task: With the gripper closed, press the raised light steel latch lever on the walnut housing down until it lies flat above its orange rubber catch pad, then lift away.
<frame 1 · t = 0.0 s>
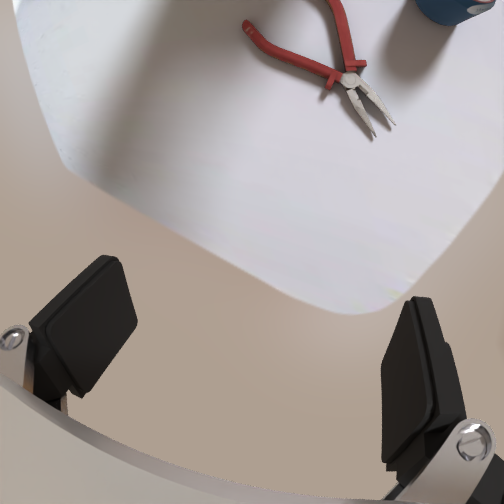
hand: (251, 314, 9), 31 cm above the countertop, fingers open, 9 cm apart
pliers: (317, 59, 31), on the countertop
soda can: (436, 3, 22), on the countertop
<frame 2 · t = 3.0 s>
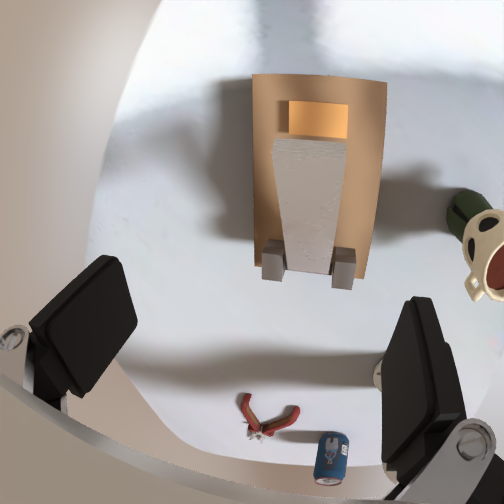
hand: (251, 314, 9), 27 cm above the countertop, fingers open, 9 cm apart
pliers: (259, 415, 61), on the countertop
character mug: (466, 212, 30), on the countertop
latch lever: (309, 226, 23), point 12 cm above the countertop, hinge at 35.0°
soda can: (334, 436, 59), on the countertop
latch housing: (319, 167, 33), on the countertop
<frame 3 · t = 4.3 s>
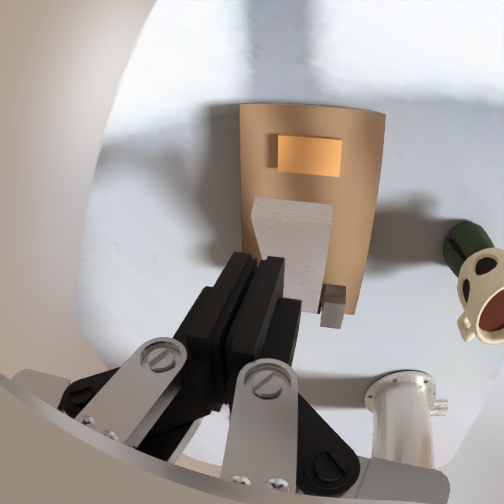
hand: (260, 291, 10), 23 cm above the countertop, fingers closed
character mug: (463, 244, 29), on the countertop
latch lever: (296, 274, 22), point 12 cm above the countertop, hinge at 35.0°
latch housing: (311, 198, 32), on the countertop
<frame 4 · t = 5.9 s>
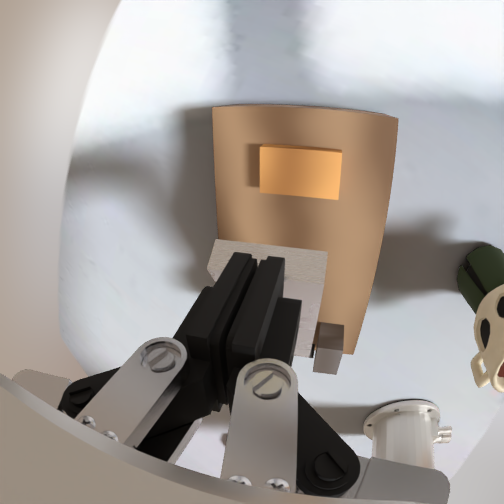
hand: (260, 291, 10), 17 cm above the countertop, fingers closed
character mug: (480, 268, 25), on the countertop
latch lever: (281, 323, 18), point 12 cm above the countertop, hinge at 33.3°, touching gripper
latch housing: (305, 218, 27), on the countertop
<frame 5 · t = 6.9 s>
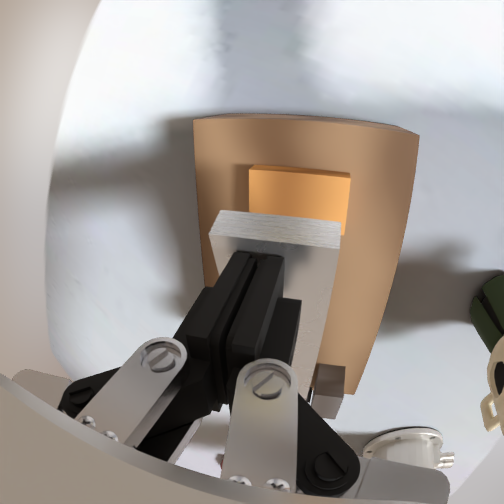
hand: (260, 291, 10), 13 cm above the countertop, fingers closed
character mug: (495, 298, 21), on the countertop
latch lever: (279, 346, 15), point 10 cm above the countertop, hinge at 18.7°, touching gripper
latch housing: (304, 245, 24), on the countertop
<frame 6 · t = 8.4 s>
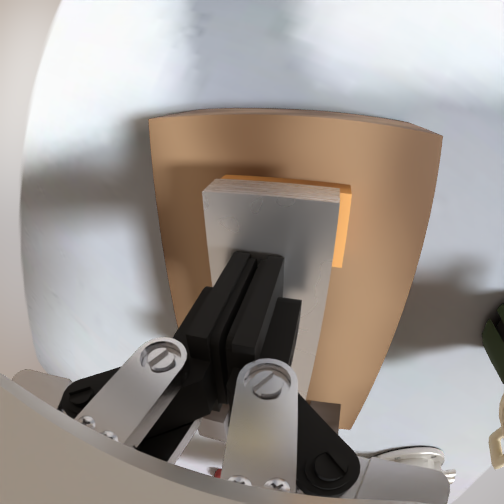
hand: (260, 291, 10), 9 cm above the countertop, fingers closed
latch lever: (268, 363, 13), point 8 cm above the countertop, hinge at 3.4°, touching gripper
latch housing: (295, 264, 20), on the countertop
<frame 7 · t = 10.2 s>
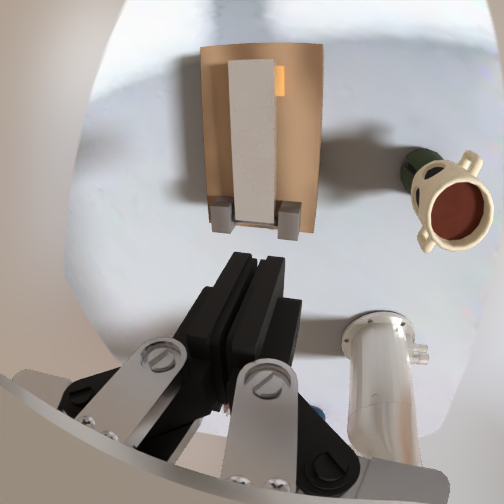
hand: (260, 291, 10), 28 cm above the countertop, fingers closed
character mug: (422, 172, 32), on the countertop
latch lever: (254, 146, 27), point 8 cm above the countertop, hinge at 3.1°
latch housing: (270, 130, 34), on the countertop
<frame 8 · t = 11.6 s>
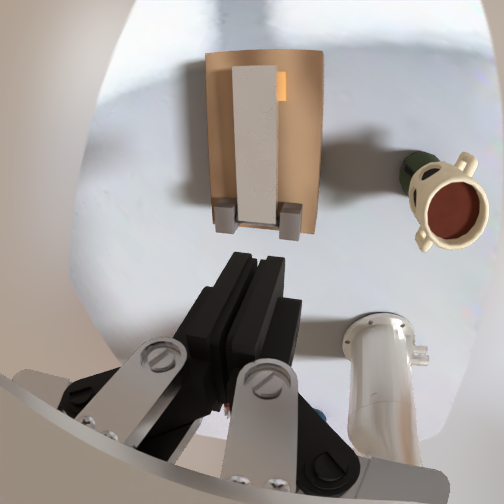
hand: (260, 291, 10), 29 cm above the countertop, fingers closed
character mug: (421, 174, 33), on the countertop
latch lever: (256, 149, 28), point 8 cm above the countertop, hinge at 3.1°
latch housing: (272, 134, 35), on the countertop
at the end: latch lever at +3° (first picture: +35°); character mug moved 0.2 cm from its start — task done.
